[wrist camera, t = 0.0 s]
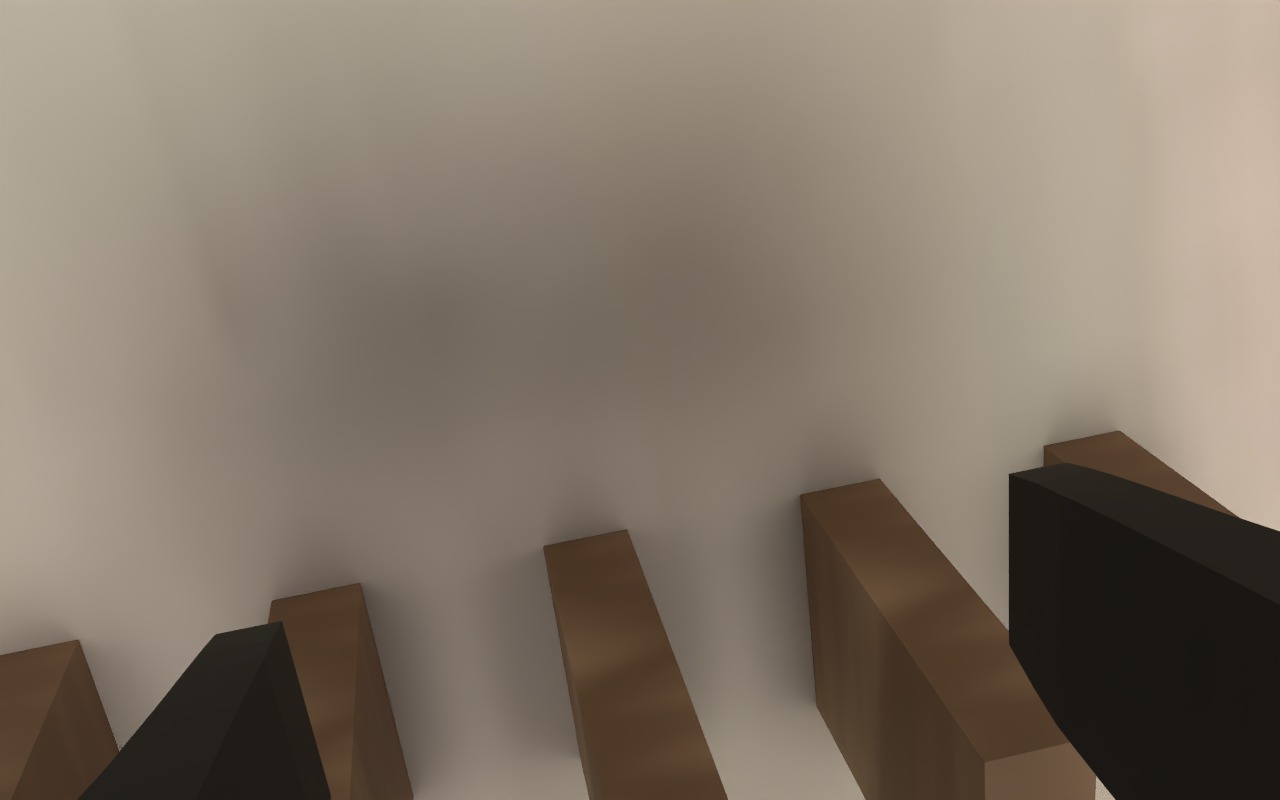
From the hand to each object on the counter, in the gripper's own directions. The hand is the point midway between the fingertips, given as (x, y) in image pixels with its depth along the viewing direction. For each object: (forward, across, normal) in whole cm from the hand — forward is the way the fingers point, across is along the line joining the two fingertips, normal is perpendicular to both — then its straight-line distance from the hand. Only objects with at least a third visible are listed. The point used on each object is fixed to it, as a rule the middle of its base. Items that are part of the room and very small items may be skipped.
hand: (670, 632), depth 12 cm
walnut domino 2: (+10, -5, +7) cm, 13 cm away
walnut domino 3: (+10, 0, +7) cm, 12 cm away
